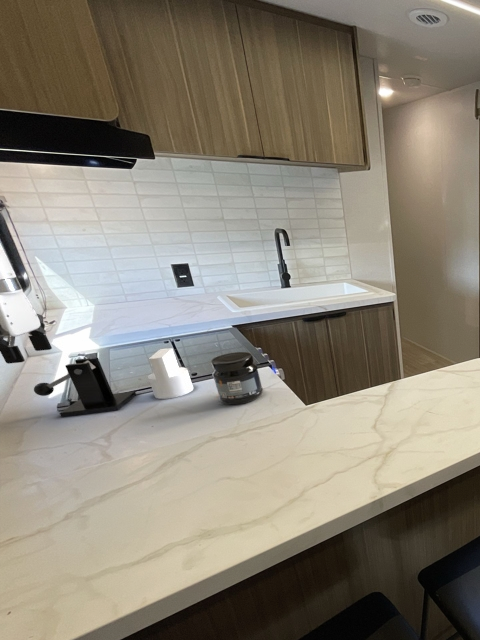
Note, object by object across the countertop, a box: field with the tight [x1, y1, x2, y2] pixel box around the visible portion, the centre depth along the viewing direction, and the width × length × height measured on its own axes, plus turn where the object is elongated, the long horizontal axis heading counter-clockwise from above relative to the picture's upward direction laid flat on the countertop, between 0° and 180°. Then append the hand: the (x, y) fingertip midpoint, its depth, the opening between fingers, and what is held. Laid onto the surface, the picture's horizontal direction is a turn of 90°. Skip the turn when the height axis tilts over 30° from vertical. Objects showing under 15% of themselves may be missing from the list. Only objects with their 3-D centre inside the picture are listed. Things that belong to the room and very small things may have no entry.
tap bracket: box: [59, 356, 137, 418], centre depth 106 cm, size 12×10×13 cm
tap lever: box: [33, 360, 96, 397], centre depth 104 cm, size 14×3×3 cm, turn 108°
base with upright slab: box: [147, 347, 194, 400], centre depth 114 cm, size 9×9×12 cm
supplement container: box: [210, 351, 264, 406], centre depth 110 cm, size 10×10×12 cm
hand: (30, 356), depth 100 cm, fingers open, 9 cm apart
